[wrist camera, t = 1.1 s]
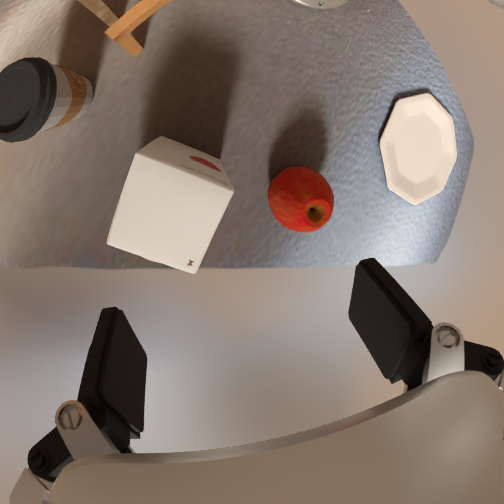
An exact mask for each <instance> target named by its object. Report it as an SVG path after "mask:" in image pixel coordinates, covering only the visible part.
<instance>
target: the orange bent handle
mask: <svg viewBox="0 0 504 504" xmlns="http://www.w3.org/2000/svg"><path fill="white" fill-rule="evenodd" d="M170 1H171V0H142V1H140V2H139V3H138V4H136V5H135V6H134V7H133V8H131V9H130V10H129V11H128V12H127V13H125V14H124V15H123V16H122V17H121V18H120V19H118V20H117V21H116V22H115V23H114V24H113V25H112V26H111V27H110V28H108V29H107V30H106V31H105V33H106V34H107V35H108V36H109V37H111V38H112V39H113V40H114V41H115V42H117V43H118V44H119V45H121V46H122V47H123V48H124V49H126V50H127V51H128V52H129V53H131V54H132V55H133V56H134V57H135V56H136V55H138V54H139V53H140V52H141V51H142V50H143V48H142V47H141V46H140V44H139V43H138V42H137V41H136V40H135V39H134V38H133V37H132V36H131V35H130V32H131V31H133V30H134V29H135V28H136V27H137V26H138V25H140V24H141V23H142V22H143V21H145V20H146V19H147V18H148V17H150V16H151V15H152V14H153V13H155V12H156V11H157V10H159V9H160V8H161V7H163V6H164V5H165V4H167V3H168V2H170Z"/></svg>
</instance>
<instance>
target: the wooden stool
mask: <svg viewBox="0 0 504 504" xmlns="http://www.w3.org/2000/svg"><path fill="white" fill-rule="evenodd" d="M78 1H79V2H80V3H81V4H83V5H84V6H85V7H86V8H88V9H89V10H90V11H91V12H92V13H94V14H95V15H96V16H97V17H98V18H99V19H101V20H102V21H103V22H104V23H105V24H106V25H108V26H109V27H111V26H112V25H113V24H114V23H115V22H116V21H117V20H118V18H117V17H116V15H115V14H114V13H113V12H112V11H111V10H110V9H109V8H108V7H107V6H106V5H105V4H104V3H103V2H102V0H78Z"/></svg>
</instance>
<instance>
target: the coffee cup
mask: <svg viewBox="0 0 504 504" xmlns="http://www.w3.org/2000/svg"><path fill="white" fill-rule="evenodd" d="M92 97H93V89H92V85H91V83H90V81H89V80H88V79H87V78H85V77H83V76H81V75H79V74H77V73H75V72H73V71H71V70H68V69H66V68H63V67H61V66H58V65H53V64H50V63H49V62H48V61H46V60H44V59H42V58H23V59H20V60H18V61H16V62H14V63H12V64H10V65H8V66H7V67H6V68H4V69H3V70H2V71H1V72H0V139H2V140H3V141H6V142H19V141H24V140H27V139H29V138H31V137H33V136H34V135H35V134H37V133H39V132H42V131H46V130H49V129H52V128H54V127H57V126H60V125H63V124H65V123H67V122H70V121H73V120H75V119H78V118H79V117H81V116H82V115H83V114H84V113H85V112H86V111H87V110H88V108H89V106H90V104H91V101H92Z"/></svg>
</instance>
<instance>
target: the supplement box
mask: <svg viewBox="0 0 504 504" xmlns="http://www.w3.org/2000/svg"><path fill="white" fill-rule="evenodd" d="M233 193H234V189H233V187H232V185H231V183H230V181H229V178H228V176H227V174H226V172H225V170H224V167H223V165H222V163H221V161H220V159H218V158H215V157H213V156H211V155H209V154H206V153H204V152H201V151H199V150H197V149H194V148H192V147H189V146H187V145H184V144H182V143H179V142H177V141H174V140H172V139H169V138H166V137H164V136H159V137H158V138H156V139H155V140H153V141H152V142H150V143H149V144H147V145H146V146H145V147H143V148H142V149H140V150H139V151H137V152H136V153H135V157H134V159H133V162H132V165H131V167H130V170H129V173H128V176H127V179H126V182H125V185H124V187H123V190H122V193H121V196H120V199H119V202H118V205H117V208H116V211H115V214H114V217H113V221H112V224H111V227H110V231H109V234H108V238H107V244H108V245H111V246H114V247H117V248H119V249H122V250H125V251H128V252H131V253H134V254H136V255H139V256H142V257H144V258H146V259H148V260H151V261H154V262H159V263H163V264H166V265H169V266H172V267H174V268H177V269H180V270H183V271H186V272H189V273H193V274H195V273H196V272H197V270H198V267H199V265H200V263H201V261H202V259H203V256H204V254H205V252H206V250H207V248H208V245H209V243H210V241H211V239H212V237H213V235H214V232H215V230H216V228H217V226H218V224H219V222H220V220H221V218H222V215H223V213H224V211H225V209H226V207H227V205H228V203H229V201H230V199H231V197H232V195H233Z"/></svg>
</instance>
